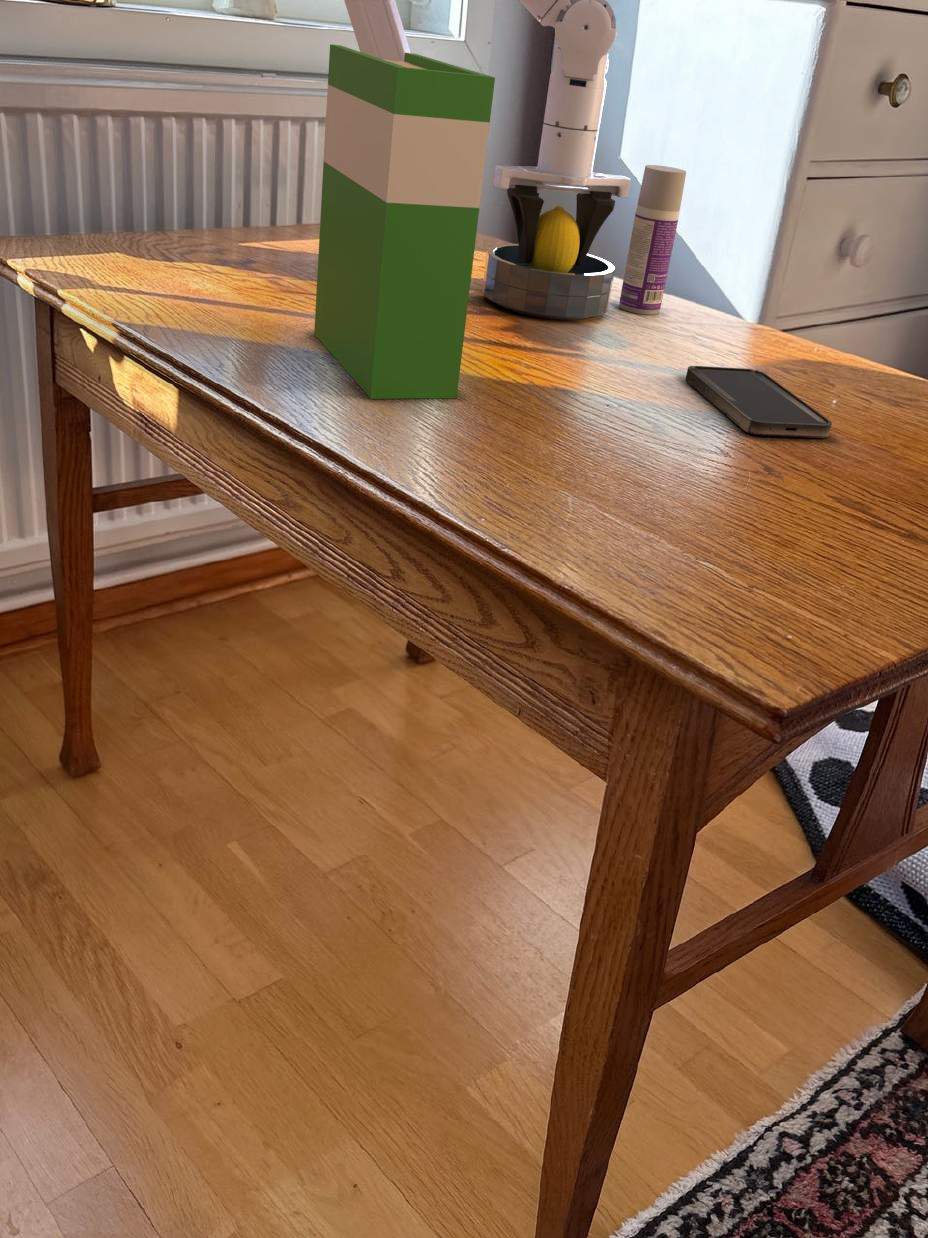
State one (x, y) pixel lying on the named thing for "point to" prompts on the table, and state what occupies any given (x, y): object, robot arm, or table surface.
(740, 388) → the phone
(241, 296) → the table surface
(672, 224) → the container
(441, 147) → the green cereal box
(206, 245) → the table surface
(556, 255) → the lemon
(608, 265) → the bowl
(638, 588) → the table surface
